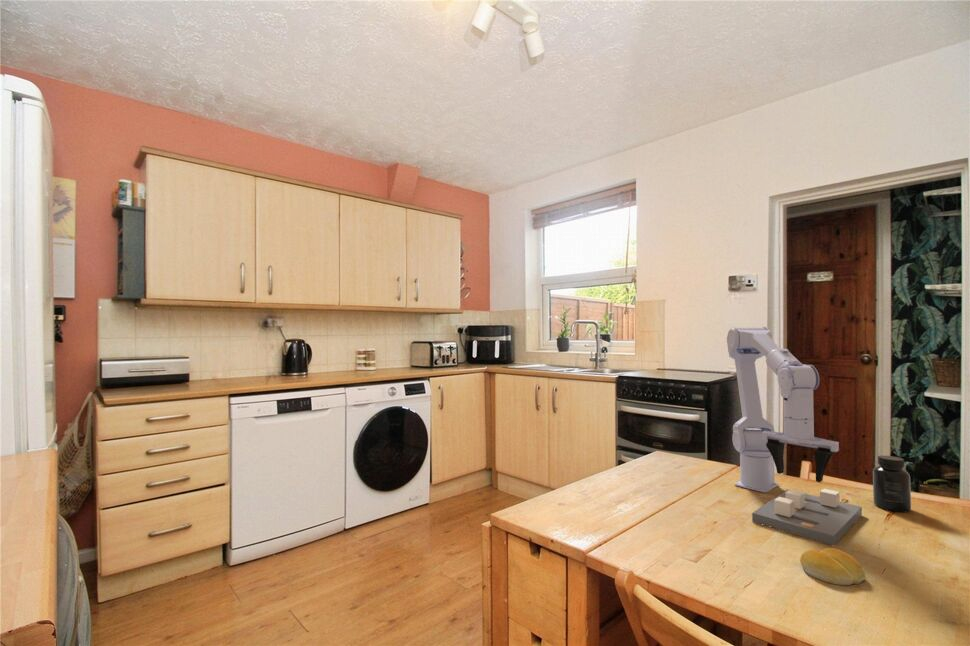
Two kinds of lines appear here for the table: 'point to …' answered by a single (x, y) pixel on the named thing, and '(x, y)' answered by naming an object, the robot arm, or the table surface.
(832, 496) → the block
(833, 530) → the switch panel
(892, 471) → the supplement bottle
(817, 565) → the bread roll
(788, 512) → the block
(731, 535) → the table surface
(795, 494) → the slider middle
